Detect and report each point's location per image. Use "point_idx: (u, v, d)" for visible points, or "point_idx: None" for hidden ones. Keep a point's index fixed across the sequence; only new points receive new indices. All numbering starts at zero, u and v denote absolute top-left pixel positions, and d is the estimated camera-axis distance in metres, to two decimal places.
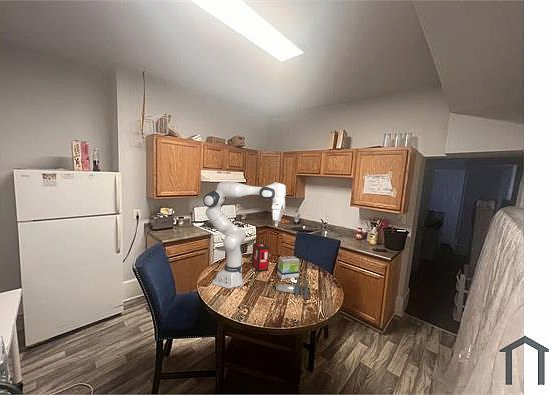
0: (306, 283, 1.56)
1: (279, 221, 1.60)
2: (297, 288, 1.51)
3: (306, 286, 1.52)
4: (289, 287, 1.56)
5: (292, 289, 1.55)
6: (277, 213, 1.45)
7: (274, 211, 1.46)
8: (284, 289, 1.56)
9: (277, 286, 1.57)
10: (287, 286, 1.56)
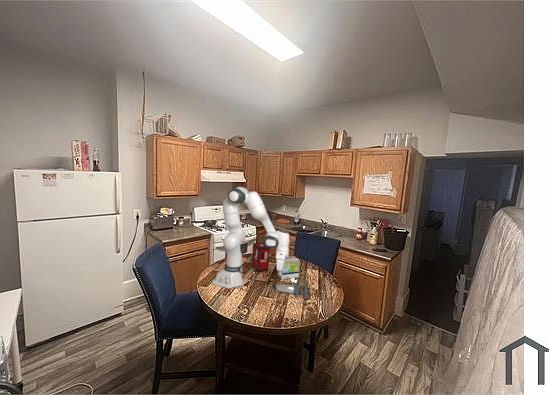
0: (306, 283, 1.56)
1: (283, 267, 1.61)
2: (297, 288, 1.51)
3: (306, 286, 1.52)
4: (289, 288, 1.55)
5: (292, 290, 1.54)
6: (281, 263, 1.47)
7: (278, 261, 1.48)
8: (284, 290, 1.55)
9: (277, 287, 1.56)
10: (287, 287, 1.55)
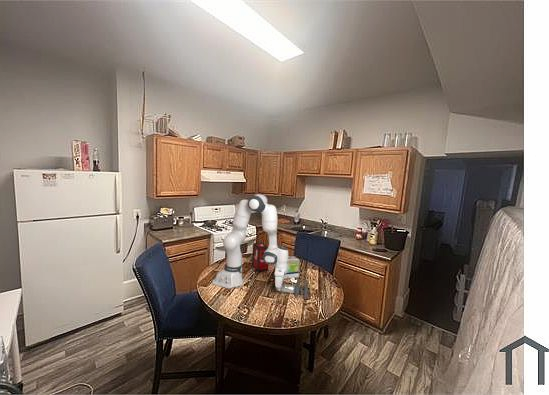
0: (306, 283, 1.56)
1: None
2: (297, 288, 1.51)
3: (306, 286, 1.52)
4: (289, 288, 1.55)
5: (292, 290, 1.54)
6: (280, 280, 1.48)
7: (277, 278, 1.49)
8: (284, 290, 1.55)
9: None
10: (287, 287, 1.56)
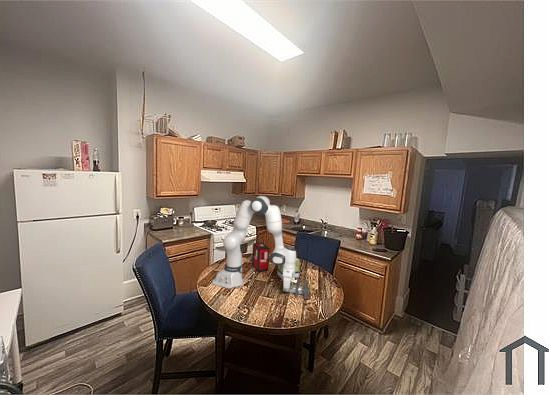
0: (306, 283, 1.56)
1: None
2: (297, 288, 1.51)
3: (306, 286, 1.52)
4: None
5: (299, 290, 1.54)
6: (288, 282, 1.47)
7: (285, 279, 1.48)
8: (291, 290, 1.55)
9: None
10: (294, 287, 1.56)
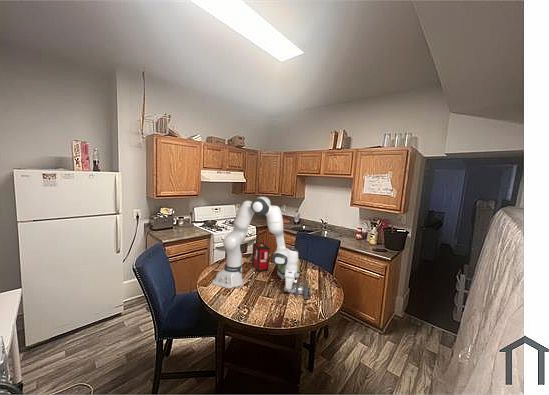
0: (306, 283, 1.56)
1: None
2: (297, 288, 1.51)
3: (306, 286, 1.52)
4: None
5: (301, 290, 1.54)
6: (290, 282, 1.47)
7: (287, 280, 1.48)
8: (292, 290, 1.55)
9: (285, 287, 1.56)
10: (295, 287, 1.55)
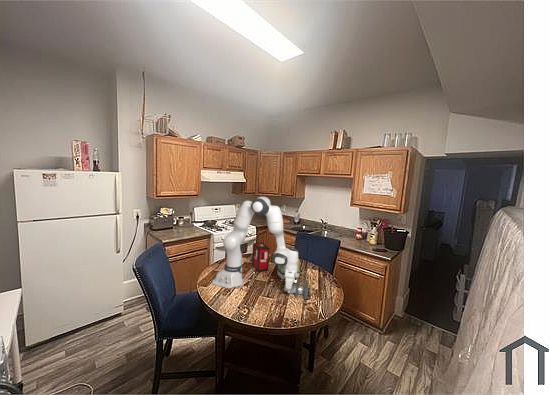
0: (306, 283, 1.56)
1: None
2: (297, 288, 1.51)
3: (306, 286, 1.52)
4: None
5: (301, 290, 1.54)
6: (290, 282, 1.47)
7: (287, 280, 1.48)
8: (292, 290, 1.55)
9: (285, 287, 1.56)
10: (295, 287, 1.55)
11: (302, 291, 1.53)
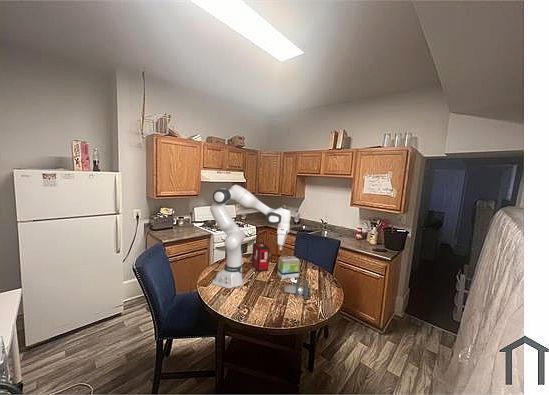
0: (306, 283, 1.56)
1: (283, 244, 1.68)
2: (297, 288, 1.51)
3: (306, 286, 1.52)
4: None
5: (300, 292, 1.53)
6: (282, 238, 1.53)
7: (279, 236, 1.54)
8: (292, 291, 1.54)
9: (285, 288, 1.55)
10: (295, 288, 1.54)
11: (302, 292, 1.53)
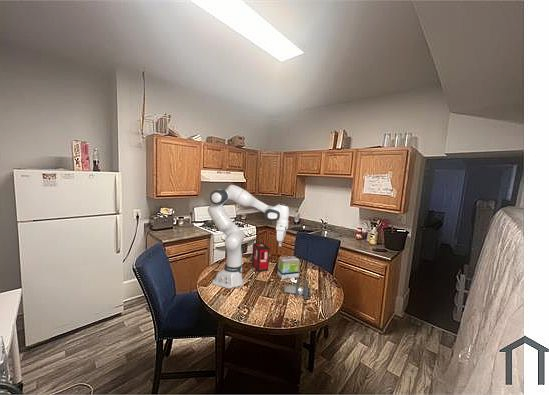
0: (306, 283, 1.56)
1: (282, 240, 1.69)
2: (297, 288, 1.51)
3: (306, 286, 1.52)
4: None
5: (300, 292, 1.53)
6: (281, 234, 1.55)
7: (278, 232, 1.55)
8: (292, 291, 1.54)
9: (285, 288, 1.55)
10: (295, 288, 1.54)
11: (302, 292, 1.53)
